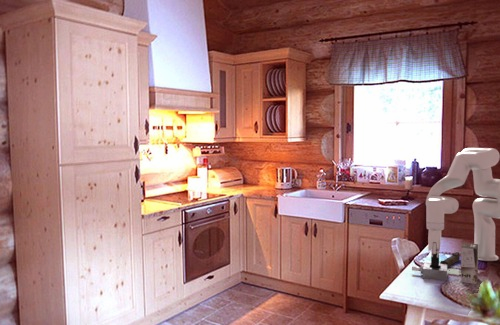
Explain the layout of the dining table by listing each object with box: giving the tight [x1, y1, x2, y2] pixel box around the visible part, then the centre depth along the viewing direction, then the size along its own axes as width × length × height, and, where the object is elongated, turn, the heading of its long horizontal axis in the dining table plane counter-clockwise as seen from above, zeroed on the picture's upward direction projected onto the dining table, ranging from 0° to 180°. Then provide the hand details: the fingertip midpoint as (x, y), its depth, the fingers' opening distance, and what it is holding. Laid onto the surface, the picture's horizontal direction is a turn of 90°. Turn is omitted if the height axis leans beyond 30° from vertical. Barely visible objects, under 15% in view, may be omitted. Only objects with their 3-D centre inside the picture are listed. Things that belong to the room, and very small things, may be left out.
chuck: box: [411, 261, 448, 282], centre depth 197 cm, size 10×15×5 cm, turn 64°
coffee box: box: [460, 242, 479, 285], centre depth 190 cm, size 9×6×16 cm
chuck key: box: [430, 249, 440, 268], centre depth 196 cm, size 3×3×9 cm
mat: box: [447, 267, 460, 276], centre depth 202 cm, size 8×8×1 cm
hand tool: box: [439, 251, 461, 268], centre depth 214 cm, size 19×4×5 cm, turn 130°
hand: (435, 264), depth 196 cm, fingers closed on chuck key, 3 cm apart
